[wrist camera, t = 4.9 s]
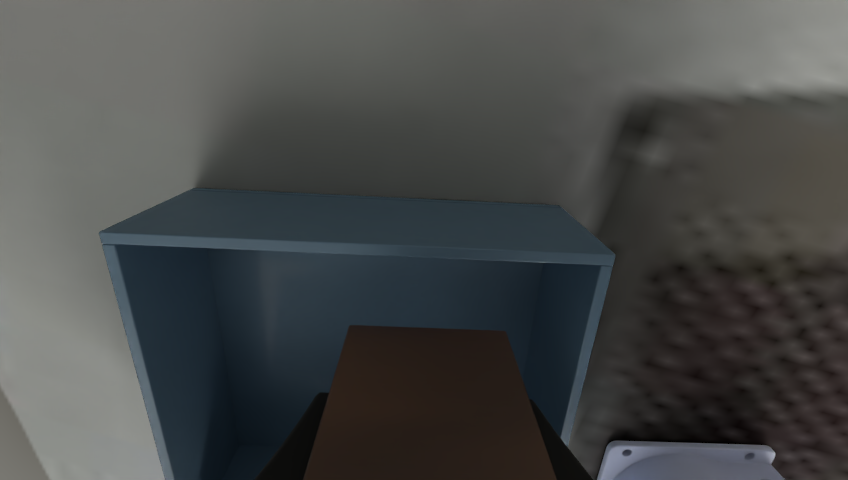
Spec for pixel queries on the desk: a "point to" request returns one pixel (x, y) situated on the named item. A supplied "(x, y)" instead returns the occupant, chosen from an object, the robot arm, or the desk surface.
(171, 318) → the carton
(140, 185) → the desk surface
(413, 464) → the walnut block
